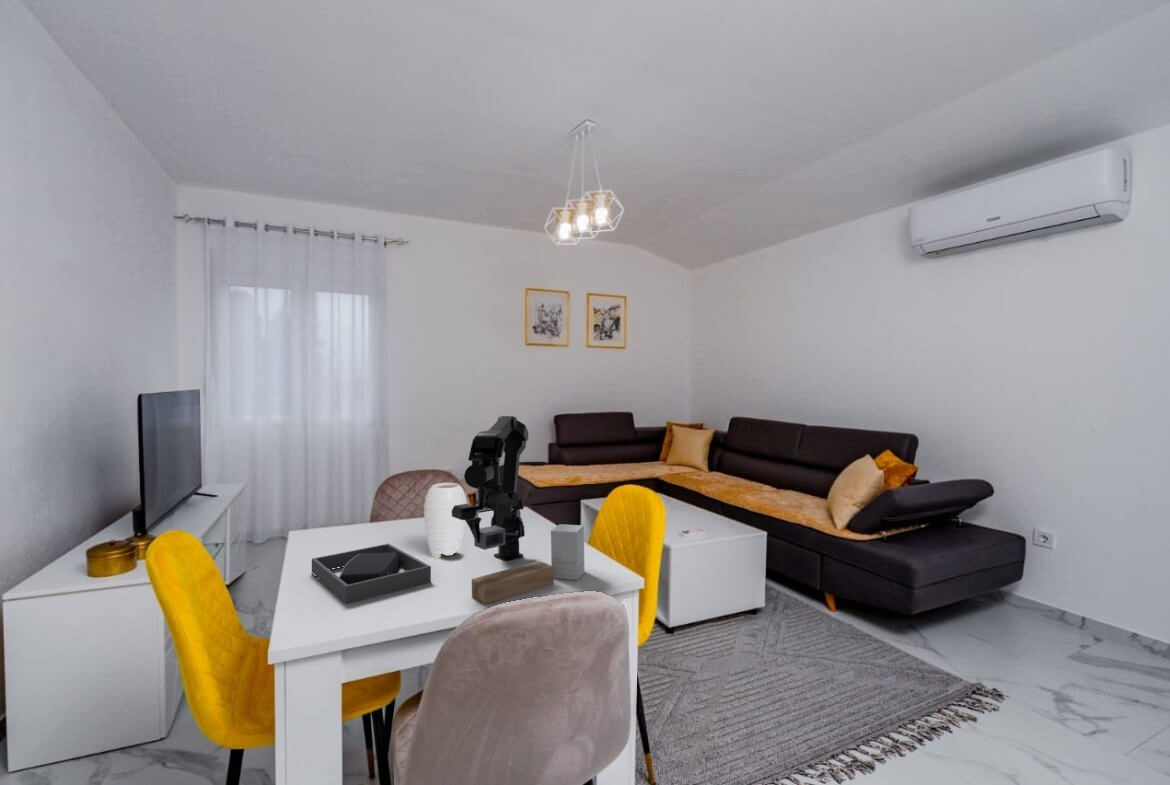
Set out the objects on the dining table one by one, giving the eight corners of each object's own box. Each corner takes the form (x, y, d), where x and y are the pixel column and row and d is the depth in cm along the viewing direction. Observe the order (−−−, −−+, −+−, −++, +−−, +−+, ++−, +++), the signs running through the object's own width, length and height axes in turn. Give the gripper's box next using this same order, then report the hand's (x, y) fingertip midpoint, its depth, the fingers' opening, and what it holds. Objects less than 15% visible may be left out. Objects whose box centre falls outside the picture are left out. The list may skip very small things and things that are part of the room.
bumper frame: (311, 573, 144) (311, 558, 144) (388, 556, 158) (388, 543, 158) (345, 603, 123) (345, 586, 123) (430, 581, 137) (430, 566, 137)
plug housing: (474, 545, 138) (474, 529, 138) (495, 540, 143) (495, 525, 143) (484, 549, 135) (484, 533, 135) (505, 544, 139) (505, 528, 139)
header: (461, 591, 130) (461, 573, 130) (528, 572, 143) (528, 556, 143) (485, 605, 122) (484, 585, 122) (553, 583, 135) (553, 566, 135)
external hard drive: (331, 591, 130) (331, 575, 130) (354, 566, 149) (354, 551, 149) (386, 588, 131) (386, 572, 131) (402, 563, 151) (402, 549, 151)
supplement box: (585, 571, 144) (585, 525, 144) (577, 580, 137) (577, 532, 137) (559, 569, 146) (559, 523, 146) (550, 578, 139) (550, 530, 139)
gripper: (472, 489, 127) (473, 554, 127) (535, 480, 139) (536, 539, 139) (450, 483, 135) (450, 544, 135) (511, 475, 148) (512, 531, 148)
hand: (489, 540), depth 139 cm, fingers closed on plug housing, 6 cm apart
